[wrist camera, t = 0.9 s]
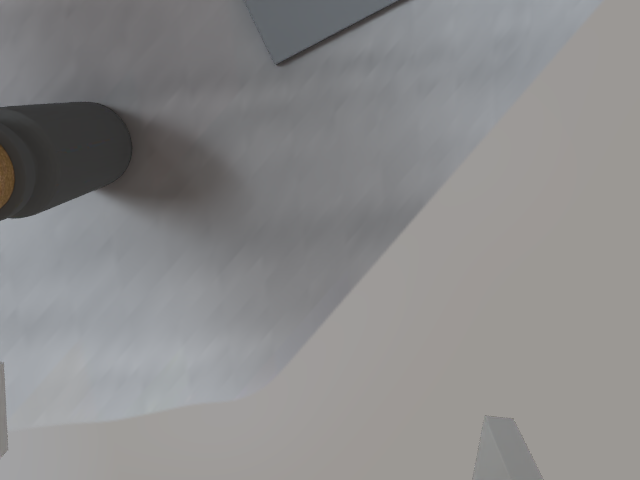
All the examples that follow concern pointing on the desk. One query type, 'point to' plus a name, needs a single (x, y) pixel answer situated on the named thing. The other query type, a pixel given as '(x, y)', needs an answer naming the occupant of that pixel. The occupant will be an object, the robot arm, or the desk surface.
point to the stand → (306, 21)
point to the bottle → (57, 154)
